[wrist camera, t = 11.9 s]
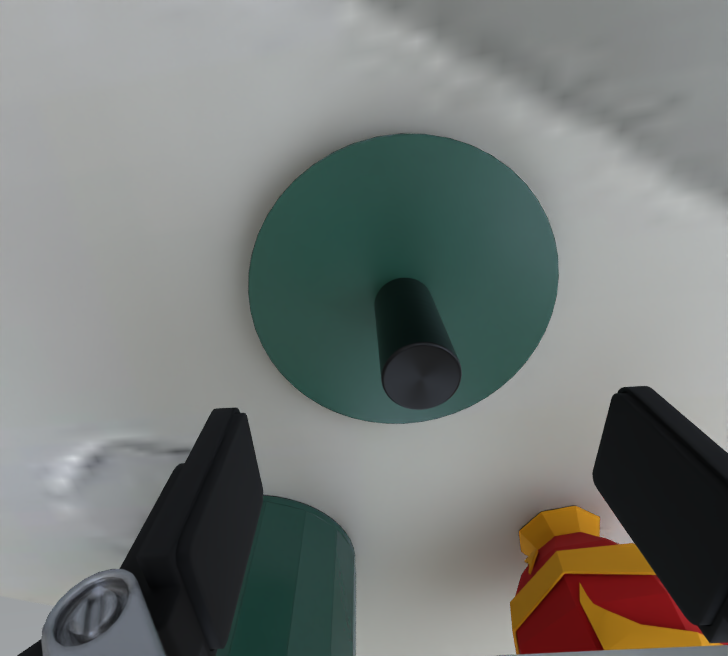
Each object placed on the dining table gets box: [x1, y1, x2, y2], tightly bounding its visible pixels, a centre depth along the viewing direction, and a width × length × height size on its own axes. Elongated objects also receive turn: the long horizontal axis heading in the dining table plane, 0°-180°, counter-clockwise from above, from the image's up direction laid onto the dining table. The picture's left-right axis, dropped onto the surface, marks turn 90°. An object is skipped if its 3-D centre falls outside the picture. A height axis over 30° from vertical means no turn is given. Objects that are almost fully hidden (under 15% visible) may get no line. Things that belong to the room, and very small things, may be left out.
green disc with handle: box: [248, 134, 559, 424], centre depth 15 cm, size 13×13×7 cm
